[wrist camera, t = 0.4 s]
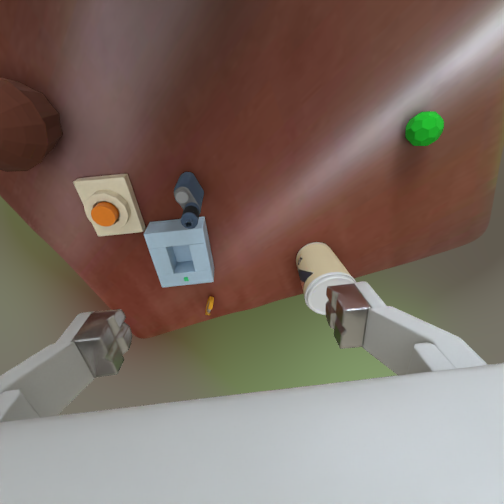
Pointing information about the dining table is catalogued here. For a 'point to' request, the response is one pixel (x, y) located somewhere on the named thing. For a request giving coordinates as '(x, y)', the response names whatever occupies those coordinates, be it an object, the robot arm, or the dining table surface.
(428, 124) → the polyhedron
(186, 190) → the vaping device
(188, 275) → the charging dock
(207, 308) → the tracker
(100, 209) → the orange button
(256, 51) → the dining table surface
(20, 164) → the muffin
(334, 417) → the robot arm
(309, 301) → the coffee cup
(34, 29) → the dining table surface
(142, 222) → the button box
